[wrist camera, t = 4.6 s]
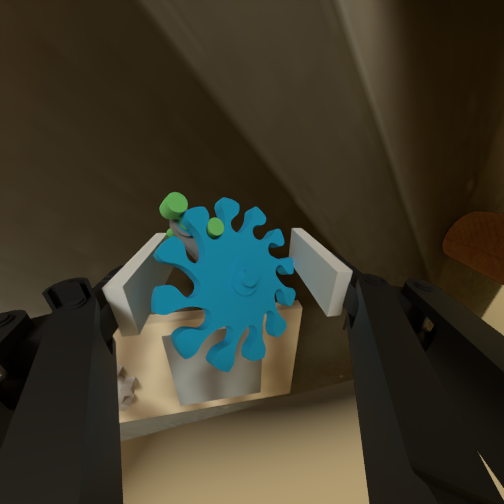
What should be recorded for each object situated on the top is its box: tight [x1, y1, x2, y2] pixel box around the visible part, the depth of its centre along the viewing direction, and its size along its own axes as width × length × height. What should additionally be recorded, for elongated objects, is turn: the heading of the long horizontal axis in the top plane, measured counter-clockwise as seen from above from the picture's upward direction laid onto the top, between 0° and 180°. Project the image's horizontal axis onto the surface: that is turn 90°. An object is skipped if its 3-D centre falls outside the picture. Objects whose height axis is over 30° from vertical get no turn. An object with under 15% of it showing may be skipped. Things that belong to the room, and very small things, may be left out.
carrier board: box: [113, 300, 302, 423], centre depth 25 cm, size 31×18×3 cm, turn 90°
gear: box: [151, 192, 296, 372], centre depth 13 cm, size 11×6×10 cm
